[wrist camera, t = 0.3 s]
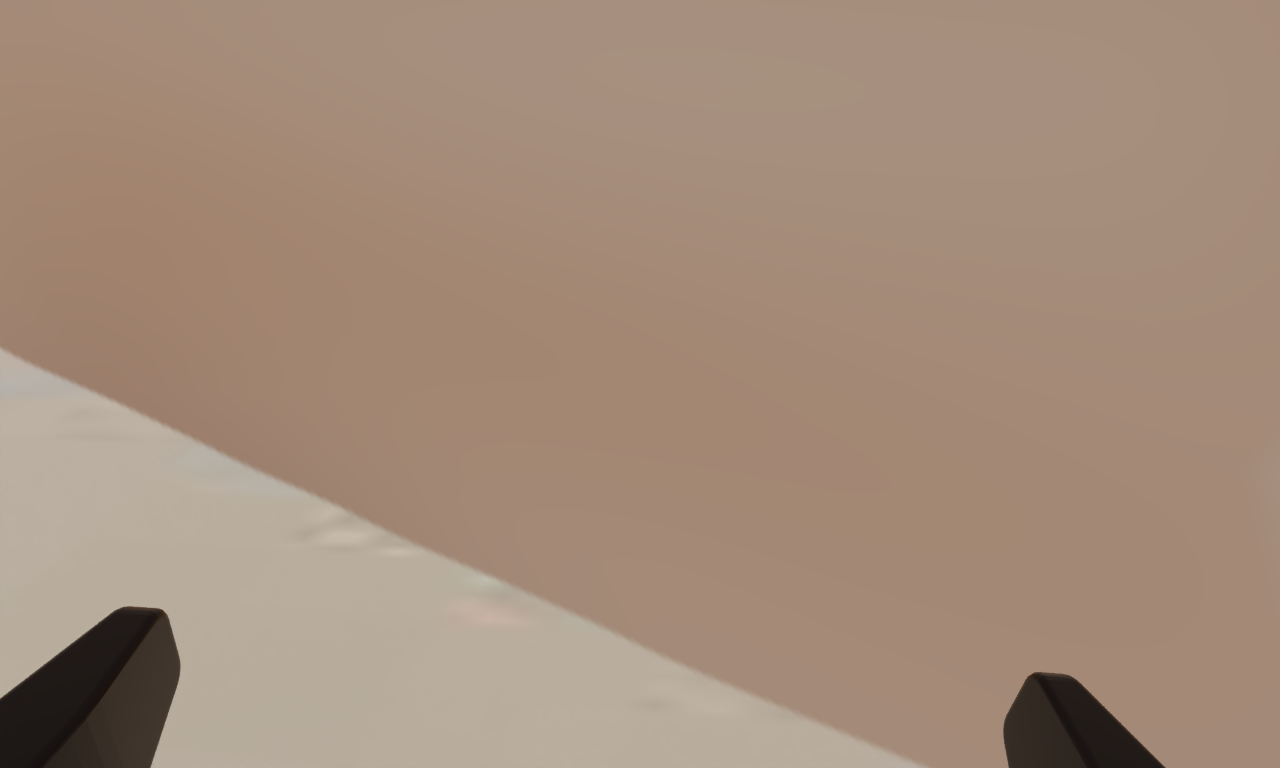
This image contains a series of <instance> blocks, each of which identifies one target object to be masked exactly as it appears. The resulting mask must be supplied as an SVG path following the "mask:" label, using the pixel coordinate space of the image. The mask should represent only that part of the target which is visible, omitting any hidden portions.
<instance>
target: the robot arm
mask: <svg viewBox="0 0 1280 768" xmlns="http://www.w3.org/2000/svg"><path fill="white" fill-rule="evenodd" d="M179 676H180V658H179V654H178V650H177V647H176V643H175V639H174V636H173V632H172V628H171V625H170V621H169V618H168V616H167V614H166V613H165V612H164V611H163V610H162V609H158V608H146V607H132V606H128V607H122V608H120V609H117V610H115V611H114V612H112V613H111V614H110V615H108V616H107V617H106V618H104V619H103V620H102V621H100V622H99V623H98V624H97V625H95V626H94V627H93V628H91V629H90V630H89V631H87V632H86V633H85V634H84V635H82V636H81V637H80V638H78V639H77V640H76V641H74V642H73V643H72V644H71V645H69V646H68V647H67V648H65V649H64V650H63V651H61V652H60V653H59V654H58V655H56V656H55V657H54V658H52V659H51V660H50V661H48V662H47V663H46V664H44V665H43V666H42V667H41V668H39V669H38V670H37V671H35V672H34V673H33V674H31V675H30V676H29V677H28V678H26V679H25V680H24V681H22V682H21V683H20V684H18V685H17V686H16V687H15V688H13V689H12V690H11V691H9V692H8V693H7V694H5V695H4V696H3V697H2V698H0V768H150V767H151V764H152V761H153V758H154V755H155V752H156V749H157V746H158V743H159V740H160V737H161V734H162V731H163V728H164V724H165V721H166V718H167V715H168V712H169V709H170V706H171V703H172V700H173V697H174V694H175V691H176V688H177V685H178V681H179ZM1003 733H1004V744H1005V749H1006V755H1007V760H1008V766H1009V768H1165V767H1164V766H1163V765H1162V764H1161V763H1160V762H1159V761H1158V760H1157V759H1156V758H1155V757H1154V756H1153V755H1152V754H1151V753H1150V752H1149V751H1148V750H1147V749H1146V748H1145V747H1144V746H1143V745H1142V744H1141V743H1140V742H1139V741H1138V740H1137V739H1136V738H1135V737H1134V736H1133V735H1132V734H1131V733H1130V732H1129V731H1128V730H1127V729H1126V728H1125V727H1124V726H1123V725H1122V724H1121V723H1120V722H1119V721H1118V720H1117V719H1116V718H1115V717H1114V716H1113V715H1112V714H1111V713H1110V712H1109V711H1108V710H1107V709H1106V708H1105V707H1104V706H1103V705H1102V704H1101V703H1100V702H1099V701H1098V700H1097V699H1096V698H1095V697H1094V696H1093V695H1092V694H1091V693H1090V692H1089V691H1088V690H1087V689H1086V688H1085V687H1084V686H1083V685H1082V684H1081V683H1079V682H1078V681H1077V680H1076V679H1074V678H1073V677H1071V676H1069V675H1065V674H1057V673H1043V672H1036V673H1033V674H1031V675H1030V676H1028V677H1027V679H1026V680H1025V682H1024V684H1023V686H1022V688H1021V690H1020V691H1019V693H1018V695H1017V697H1016V699H1015V701H1014V702H1013V704H1012V706H1011V708H1010V710H1009V712H1008V713H1007V715H1006V718H1005V722H1004V729H1003Z"/></svg>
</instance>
